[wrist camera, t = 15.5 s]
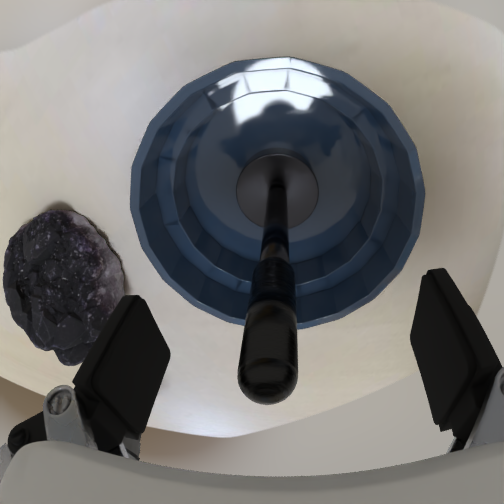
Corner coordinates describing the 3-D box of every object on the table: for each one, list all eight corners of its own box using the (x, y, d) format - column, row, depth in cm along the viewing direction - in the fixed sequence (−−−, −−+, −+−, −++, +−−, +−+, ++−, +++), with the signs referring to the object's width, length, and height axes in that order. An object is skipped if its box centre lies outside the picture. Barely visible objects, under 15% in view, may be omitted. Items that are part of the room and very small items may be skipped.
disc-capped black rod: (330, 174, 19) (412, 377, 6) (289, 231, 22) (290, 449, 9) (264, 132, 18) (215, 288, 5) (225, 196, 21) (142, 401, 8)
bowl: (430, 156, 18) (472, 185, 13) (306, 305, 26) (310, 358, 21) (233, 24, 15) (214, 2, 10) (136, 216, 23) (101, 257, 18)
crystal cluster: (19, 194, 24) (-48, 251, 16) (120, 208, 22) (41, 292, 14) (52, 291, 32) (9, 349, 24) (143, 320, 30) (102, 398, 22)
